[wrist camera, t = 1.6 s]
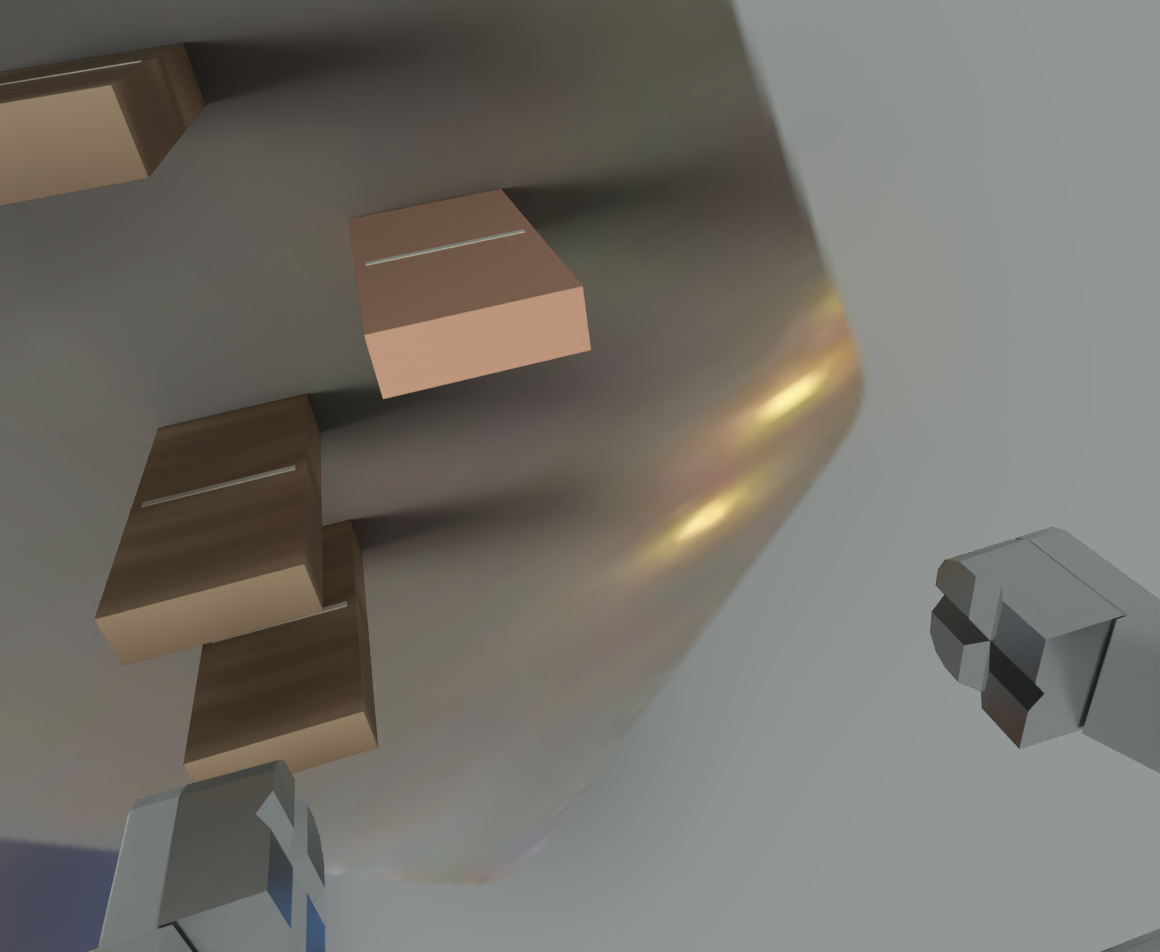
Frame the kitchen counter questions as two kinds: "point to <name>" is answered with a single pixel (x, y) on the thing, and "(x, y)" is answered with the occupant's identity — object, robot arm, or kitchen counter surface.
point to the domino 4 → (461, 293)
